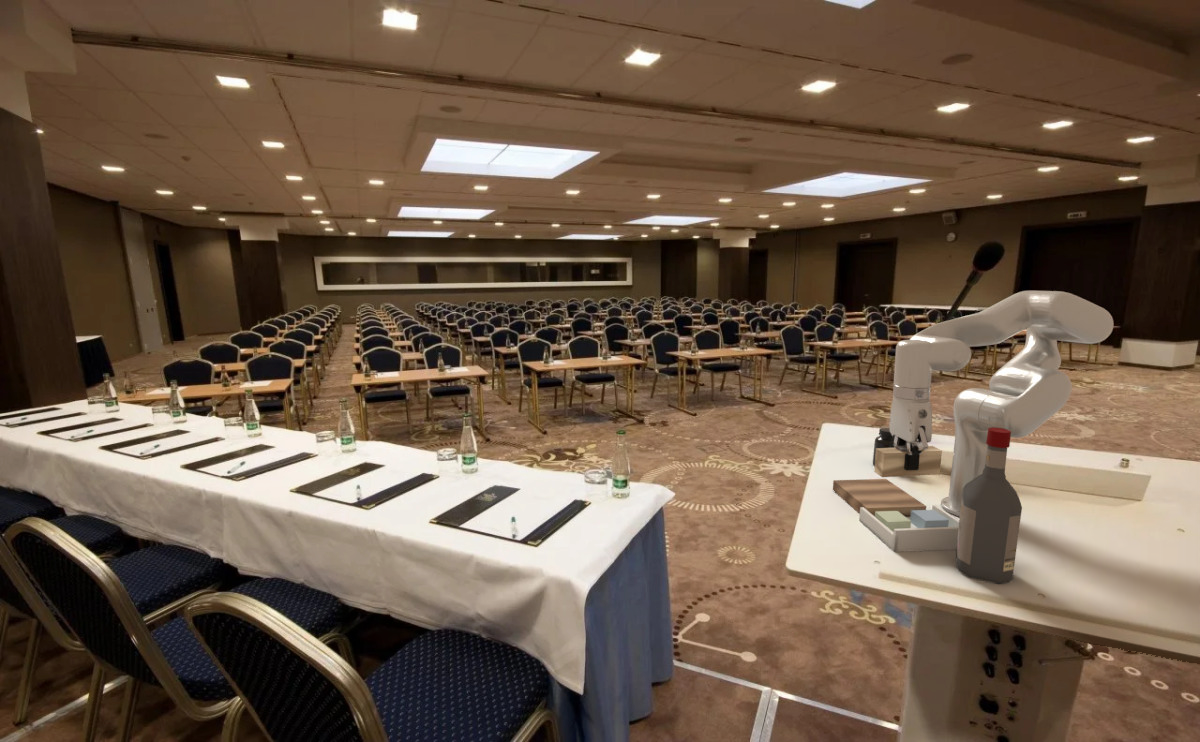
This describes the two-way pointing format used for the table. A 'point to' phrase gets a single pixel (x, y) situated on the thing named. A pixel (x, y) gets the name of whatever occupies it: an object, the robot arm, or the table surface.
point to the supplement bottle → (883, 441)
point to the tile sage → (893, 519)
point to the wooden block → (893, 460)
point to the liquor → (989, 518)
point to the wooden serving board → (876, 496)
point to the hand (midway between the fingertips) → (905, 465)
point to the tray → (914, 533)
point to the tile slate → (928, 519)
